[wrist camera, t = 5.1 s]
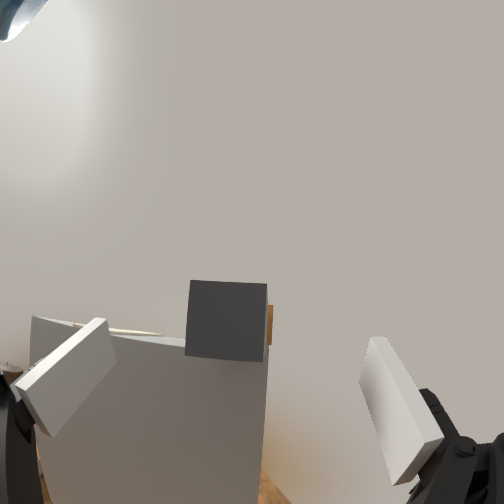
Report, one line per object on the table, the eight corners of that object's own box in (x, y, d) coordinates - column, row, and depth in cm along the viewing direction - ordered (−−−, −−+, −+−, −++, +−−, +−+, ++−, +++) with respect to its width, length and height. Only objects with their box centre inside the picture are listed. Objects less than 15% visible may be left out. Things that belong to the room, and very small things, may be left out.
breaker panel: (249, 578, 12) (268, 350, 21) (57, 517, 14) (32, 312, 23) (256, 513, 28) (268, 343, 37) (109, 481, 30) (105, 324, 39)
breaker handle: (275, 362, 11) (280, 255, 13) (172, 354, 12) (182, 252, 13) (271, 343, 36) (272, 308, 37) (237, 341, 36) (239, 307, 38)
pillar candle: (33, 421, 40) (29, 367, 45) (5, 424, 31) (0, 365, 36) (15, 408, 42) (12, 357, 47) (-11, 409, 33) (-15, 354, 37)
